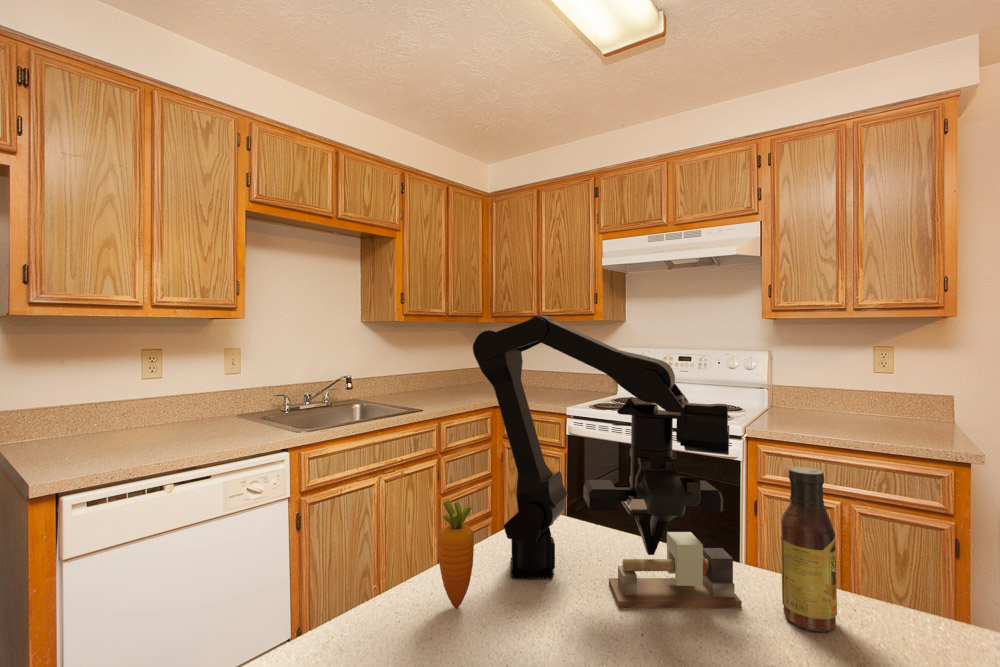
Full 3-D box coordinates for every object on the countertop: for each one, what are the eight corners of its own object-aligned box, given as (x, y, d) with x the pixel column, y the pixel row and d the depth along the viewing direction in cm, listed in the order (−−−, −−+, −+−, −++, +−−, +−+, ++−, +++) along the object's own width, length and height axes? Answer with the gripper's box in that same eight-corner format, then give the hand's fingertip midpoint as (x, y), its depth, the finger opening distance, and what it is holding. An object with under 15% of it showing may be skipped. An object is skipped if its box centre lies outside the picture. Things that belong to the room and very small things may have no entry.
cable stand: (618, 608, 69) (618, 563, 69) (608, 584, 76) (608, 543, 76) (741, 608, 69) (741, 563, 69) (721, 584, 76) (721, 543, 76)
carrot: (481, 607, 70) (481, 500, 70) (455, 622, 66) (454, 509, 66) (457, 594, 73) (457, 492, 73) (431, 608, 70) (430, 500, 70)
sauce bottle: (846, 637, 63) (846, 479, 62) (791, 631, 64) (791, 476, 64) (823, 608, 69) (823, 465, 69) (774, 604, 70) (774, 463, 70)
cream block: (677, 585, 70) (677, 544, 70) (666, 570, 75) (666, 532, 75) (702, 585, 70) (702, 544, 70) (691, 570, 75) (691, 531, 75)
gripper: (598, 461, 64) (596, 581, 65) (743, 462, 64) (741, 582, 65) (583, 441, 76) (582, 544, 76) (707, 442, 76) (705, 545, 76)
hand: (650, 553), depth 73 cm, fingers closed
